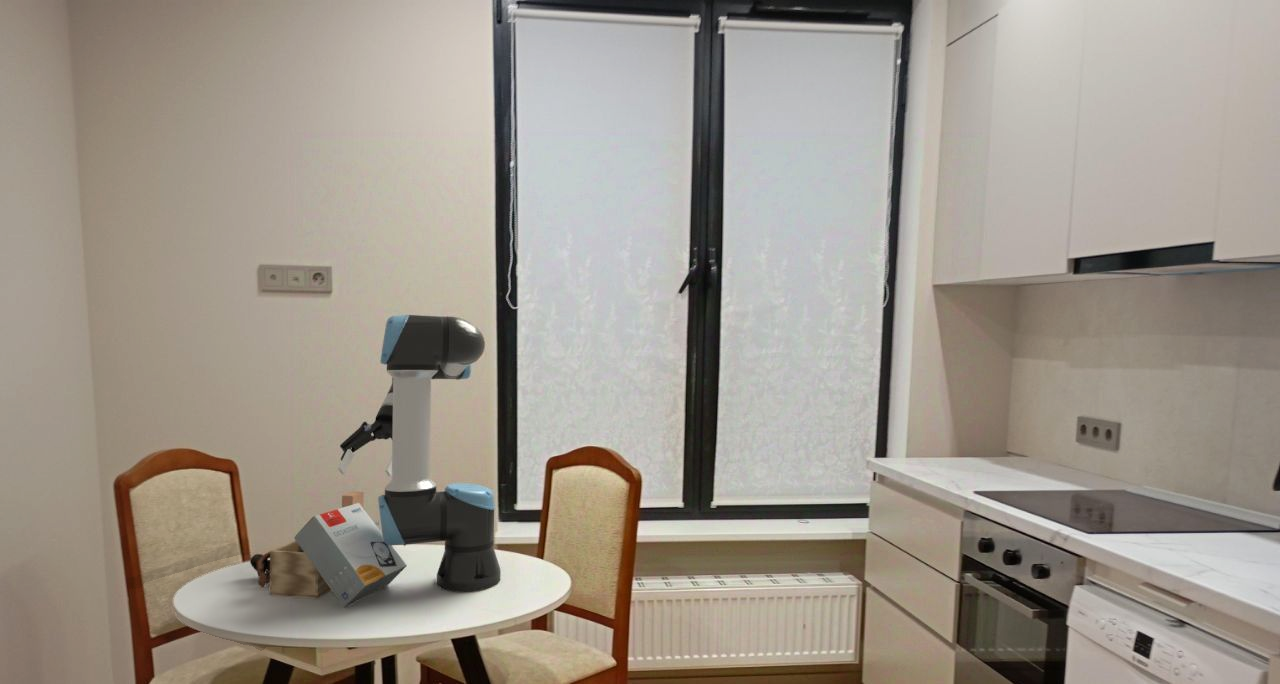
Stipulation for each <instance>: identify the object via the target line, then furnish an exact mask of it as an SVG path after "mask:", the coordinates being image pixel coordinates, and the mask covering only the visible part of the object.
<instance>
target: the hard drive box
mask: <svg viewBox="0 0 1280 684" xmlns="http://www.w3.org/2000/svg"><path fill="white" fill-rule="evenodd" d="M373 521H374V520H373V519H372V518H371V516H370V515H369V514H368V513H367V511H366V510H365V509H364V507H363V508H362V506H361V505H360V503H357V504H354V505H350V506H347V507H343V508H342V507H340V508H336V509H334V510H331V511H326V512H322V513H320V514H317V515H314V516H312V517H311V518H310V520H308V522H306V524H305V525H304V526H303V527H302V528H301V529H300V530H299V531H298V532H297V534H295V536H294V537H293V538H294V541H295V540H296V542H297V543H298V544H299V546H300V547H301V548H302V550H303V551H304V552H305V554H306V555H307V556H308V558H309V559H310V561H311V562H312V563H313V565H314V566H315V568H316V569H317V570H318V572H319V573H320V574H321V576H322V577H323V579H324V580H325V581H326V583H327V584H328V586H329V587H330V588H331V591H332V592H333V594H334V595H335V596H336V598H337V599H338V601H339V603H341V605H342V607H344V608H347V607H349V606H350V605H352V604H355V603H357V602H359V601H360V600H362V599H364V598H366V597H368V596H369V595H371V594H373V593H375V592H378V591H379V590H382V589H383V588H385V587H388V585H390V584H391V583H392V582H393V581H394V579H395V578H397V576H398V575H400V574H401V573H402V571H403V570H404V569H406V567H407V563H406V562H405V561H404V560H403V558H402V557H401V555H399V553H398V552H397V551H396V549H395V548H394V546H393V545H387V544H386V543H385V542H384V540H383V534H382V530H380V529H379V527H378V525H377V526H376V525H375V523H374V522H373Z"/></svg>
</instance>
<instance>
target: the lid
mask: <svg viewBox="0 0 1280 684" xmlns="http://www.w3.org/2000/svg"><path fill="white" fill-rule="evenodd" d="M357 503H360V505H361V506H362V508H363V509H364V491H350V492H348V493H346V494H343V495H341V508H343V507H347V506H350V505H354V504H357ZM372 521H373V522H374V523H375V525H376V526H377V527H378V526H379V525H380V522H379V521H378V520H377V521H375V520H372Z"/></svg>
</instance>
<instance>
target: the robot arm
mask: <svg viewBox="0 0 1280 684" xmlns="http://www.w3.org/2000/svg"><path fill="white" fill-rule="evenodd" d="M384 329H385V330H384V335H383V341H382V348H381V355H380V364H383V365H386V373H387V374H389V376H391V385H390V387H389V389H388V392H387V394H386V396H385V398H384V399H383V401H382V403H381V406H380V408H379V410H378V412H377V414H376V415H375V418H374V419H375V420H374V421H373V423H368V421H363V422H362V423H361V425H360V426H359V427H358V428H357V430H355V431H354V432H353V433H352V434H351V435H349V436H348V437H347V439H345V440H344V441H343V442H341V444H340V445H339V447H340V448H341V450H342V451H343V454H342V455H341V457H340V464H339V466H338V467H337V470H338V471H339V473H340V474H341V475H345V474H346V472H347V470H348V468H349V466H350V465H351V462H352V460H353V458H354V456H355V454H354V453H355V452H356V451H358V450H360V449H361V448H362V447H364V446H366V445H367V444H369V443H370V442H374V441H376V440H389V439H391V441H392V442H391V444H392V445H391V448H392V449H391V450H392V451H391V455H390V458H389V460H388V463H387V465H386V466H385V469H384V472H385V473H386V475H387V476H388V477H391V480H390V481H389V483H388V484H386V486H385V487H384V494H381V495H379V496H378V497H377V499H378V509H379V517H380V525H381V526H380V527H381V532H382V534H383V540H384V542H385V543H386V544H387V545H392V546H403V547H405V546H408V545H414V544H415V545H416V544H426V543H436V542H444V552H443V555H442V558H441V561H440V564H439V567H438V570H437V573H436V585H437V586H438V588H440V589H442V590H445V591H450V592H475V591H480V590H481V591H482V590H485V589H488V588H491V587H493V586H495V585H497V584H498V583H500V581H501V575H502V574H501V567H500V564H499V560H498V557H497V553H496V552H495V546H494V545H495V544H494V543H495V542H494V541H495V510H496V506H495V495H494V491H493V490H491V488H489V487H487V486H484V485H479V484H473V483H461V482H458V483H457V482H456V483H449V484H447V485H446V486H445V488H444V491H437V484H436V483H435V481H433V480H432V479H431V476H430V475H431V415H432V414H431V409H432V408H431V407H432V404H431V403H432V402H431V401H432V400H431V398H432V395H431V391H432V380H456V381H457V380H458V381H459V380H467V379H469V378H470V377H471V374H472V373H471V372H472V364H474V363H475V362H477V361H478V360H480V358H481V357H482V355H483V354H484V352H485V347H486V342H485V337H484V335H483V334H482V332H481V331H480V329H479V328H478V327H477V326H475V325H474V324H473V323H471V322H470V321H468V320H466V319H463V318H460V317H457V316H437V315H417V314H416V315H415V314H404V315H403V314H401V315H399V314H398V315H391V316H390V317H388V318H387V320H386V323H385V328H384Z"/></svg>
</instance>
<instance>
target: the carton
mask: <svg viewBox="0 0 1280 684" xmlns="http://www.w3.org/2000/svg"><path fill="white" fill-rule="evenodd" d="M269 552H270V558H269V560H270V583H269V591H268V592H269V593H268V594H269V596H278V597H279V596H281V597H291V598H293V597H294V598H304V599H305V598H306V599H307V598H308V599H319V598H321V597H322V596H325V595H326V594H328V593H329V592H331V591H332V590H331V588H330V587H329V586H328V584H327V583H326V581H325V580H324V579H323V577H322V576H321V574H320V573H319V572H318V570H317V569H316V568H315V566H314V565H313V563H312V562H311V561H310V559H309V558H308V556H307V555H306V554H305V552H304V551H303V550H302V548H301V547H300V546H299V544H298V543H297V542H296V540H295V539H294V540H293V541H290V542H288V543H285V544H283V545H281V546H279V547H275V548H274V549H271V550H270V551H269Z"/></svg>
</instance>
